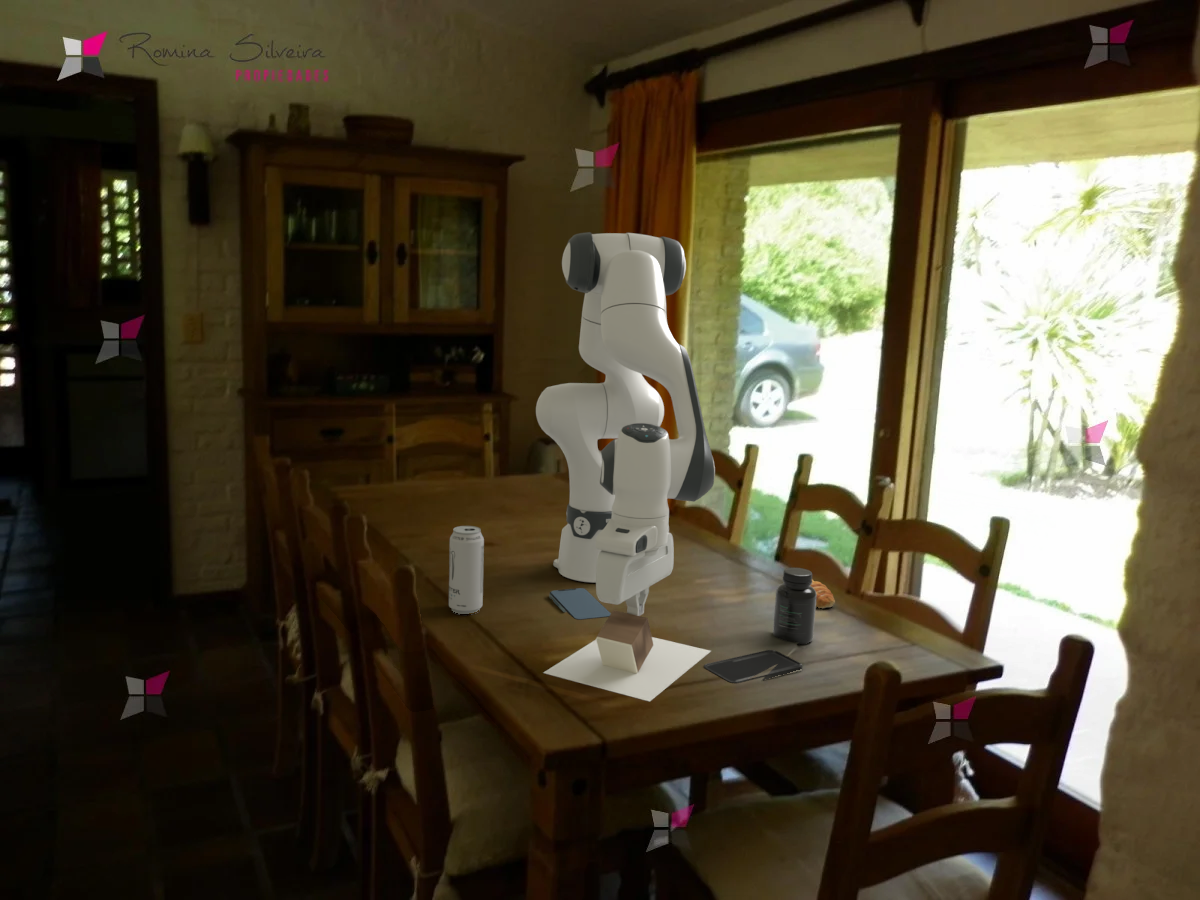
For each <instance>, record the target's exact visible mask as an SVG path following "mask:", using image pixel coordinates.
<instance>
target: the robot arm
mask: <svg viewBox="0 0 1200 900" xmlns="http://www.w3.org/2000/svg"><path fill="white" fill-rule="evenodd" d="M561 267H562V268H561V269H562V273H563V275H564V278H565V283H566V284H567V285H568V286H569V287H570V289H572V290H575V291H577V292H580V293H584V297H583V304H582V309H581V310H582V311H581V319H580V322H581V323H580V330H579V331H580V332H579V344H578V351H579V355H580V357H581V359H583V360H582V361H584V362H585V363H586V364H587V365H589V366H590V367H592V368H594V370H597V371H599V372H601V373H602V374H604V375H605V380H604V382H600V383H594V382H593V383H592V382H591V383H589V382H588V383H587V382H582V383H581V382H568V383H560V384H556V385H552V386H547V387H546V388H544V389H543V391H541V393H540V395H539V397H538V399H537V401H536V406H535V416H536V420H537V423H538V426H539V427H540V428H541V430H542V431H543V432H544V433H545V434H546V435H547V436H549V437H550V438H551V439H552V440H553V441H554V442H555V443H556V444H557V445H558V447H559V448H560V449H561V451H562V453H563V454H564V457H565V459H566V463H567V467H568V478H569V502H568V504H567V505H566V506H567V507H566V513H565V514H566V520H565V521H566V522H567V524H566V525H565V526H564V527H562V529H561V536H560V543H559V551H558V558H556V559H554V560H553V564H552V565H553V567H555V568H557V569H558V573H559V574H560V575H562V577H565V578H567V579H569V580H573V581H578V582H584V583H595V591H596V592H595V593H596V596H597V600H598V601H599V602H602V603H605V604H611V605H618V606H619V605H621V604H622V603H624V602H625V605H626V607H627V608H626V609H627V610H626V613H628V614H633V615H637V616H642V615H644V613H645V604H646V601H647V598H648V595H649V593H650V587H651V586H653V585H655V584H656V583H658V582H660V581H661V580H663V579H665V578H667V577H668V576H670V575H671V574H672V571H673V569H674V564H675V563H674V559H675V558H674V554H675V552H674V537H673V534H672V533H671V532H670V526H669V522H670V521H669V518H670V508H669V504H668V499H673V500H677V501H685V502H686V501H687V502H696V501H698V500H699V499H702V497H703V496H705V495H706V494H707V493H709V491H710V490H712V488H713V486H714V483H715V478H716V476H715V475H716V467H715V461H714V457H713V455H712V453H713V452H712V449H711V447H710V443H709V440H708V436H707V431H706V427H705V422H704V418H703V413H702V408H701V403H700V402H701V401H700V399H699V394H698V388H697V382H696V379H695V374H694V370H693V366H692V362H691V359H690V356H689V353H688V350H687V349H686V347H685V346H683V345H681V344H680V343H678V342H677V340H676V339H675V338H674V336H673V334H672V332H671V330H670V328H669V325H668V324H669V323H668V319H667V318H668V317H667V314H668V313H667V298H666V296H670V295H673V294H674V293H676V292H677V291H678V290H679V289H680V288H681V287H682V284H683V280H684V278H685V275H686V271H687V262H686V257H685V250H684V248H683V246H682V244H681V243H680V242H679V241H678V240H676V239H672V238H670V237H666V236H660V237H657V236H652V235H648V234H642V233H633V232H626V233H619V232H618V233H614V232H613V233H611V232H609V233H608V232H606V233H592V232H590V231H589V232H588V231H587V232H580V233H576V234H574V235H572V237H570V238H569V239H568V241H567V244H566V246H565V248H564V251H563V253H562V259H561ZM644 376H646V377H648V378H650V379H652V380H654V381H656V382H658V384H661V385H662V386H663V387H664V388H665V389H666V390H667V392H668V393H669V396H670V397H671V398H670V399H671V402H672V407H673V413H674V417H675V422H676V429H677V433H678V438H674V439H671V438H670V436H669V433H668V431H667V430H666V429H664V428H663V427H661V425H662V424H663V423H662V422H663V420H664V416H665V406H664V405H665V404H664V402H663V399H662V397H661V395H660V393H659V392H658V391H657V390H656V388H654V387H653V386H652V385H651V384H649V383H648V381H647V380H646V379H645V377H644ZM601 439H613V440H611V441H610V442H609V443H607V445H605V447H604V448H603V449H602V450H599V448H598V440H601Z"/></svg>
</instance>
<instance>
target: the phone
mask: <svg viewBox="0 0 1200 900" xmlns="http://www.w3.org/2000/svg"><path fill="white" fill-rule="evenodd" d="M803 666H804V665H803V664H802V662H799V661H797V660H795V659H793V658H791V657H789V656H788V655H785V654H784V653H781V652H779V651H778V650H775V649H766V650H763V651H757V652H753V653H748V654H744V655H740V656H734V657H732V658H727V659H726V658H725V659H722V660H718V661H713V662H708V663H705V664H704V665H703V669H705V670H707V671H709V672H710V673H712V674H714V675H716V676H718V677H719V678H721V679H722V680H725V681H726V682H728V683H732V684H741V683H745V682H748V681H752V680H757V679H761V678H762V680H763V681H766V680H765V679H767V680H770V679H769V678H771V679H773V678H772V677H775V676H778V675H783V674H787V673H790V672H793V671H796V670H800V669H802V670H803ZM771 668H772V669H771ZM768 669H771V670H770V672H768V673H767V674H764V675H760V676H757V675H759V674H761V673H762V672H765V671H766V670H768ZM787 675H788V674H787ZM754 676H755V677H754ZM756 676H757V677H756ZM783 676H784V675H783ZM775 678H776V677H775Z"/></svg>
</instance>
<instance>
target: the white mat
mask: <svg viewBox="0 0 1200 900" xmlns="http://www.w3.org/2000/svg"><path fill="white" fill-rule="evenodd" d="M652 641H653V647H652V649H651V650H650V652H649V654H648V656H647V657H646V659H645V661H644V663H643V664H642V666H641V668H640V670H639V671H638V672H637V673H633V672H629V671H625V670H621V669H617V668H613V667H609V666H605V665H603V664H602V660H601V656H600V652H599V648H598V644H597V640H596V639H595V640H592V642H589V643H588V644H587V645H585V646H583V647H582V648H579V649H578V650H577V651H575V652H574V653H572V654H570V655H569V656H568V657H565V658H564V659H563V660H561V661H560V662H557V663H556V664H555V665H553V666H552V667H550V668H549V669H547V670H545V671H544V672H542V673H543V674H546V675H549V676H553V677H555V678H560V679H563V680H568V681H570V682H571V681H572V682H575V683H580V684H582V685H586V686H591V687H593V688H597V689H602V690H605V691H609V692H612V693H616V694H619V695H623V696H627V697H630V698H631V697H632V698H634V699H639V700H642V701H646V702H651V701H653V700H654V699H655V698H657V696H659V695H660V694H661V693H662V692H664V691H665V689H667V688H669V687H670V686H671V685H672V684H673V683H674V682H676V681H677V680H678V679H679V678H680V677H682V676H683V675H684V674H685V673H687V671H689V670H690V669H691V668H693V667H694V666H695V665H696V664H698V662H700V661H701V660H703V658H705V657H706V656H707V655H708V654H710V653H711V652H712V650H710V649H705V648H701V647H700V648H699V647H696V646H691V645H689V644H684V643H680V642H674V641H671V640H667V639H662V638H657V637H653V636H652Z"/></svg>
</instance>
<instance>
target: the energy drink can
mask: <svg viewBox="0 0 1200 900" xmlns="http://www.w3.org/2000/svg"><path fill="white" fill-rule="evenodd" d="M452 529H453V532H452V534H451V535H450V537H449V553H448V555H449V556H448V557H449V559H448V560H449V562H448V563H449V564H448V565H449V569H448V572H449V573H448V576H449V577H448V607H449V608H451V611H453V612H452V613H454V612H455V613H454V614H456V613H458V614H457V615H460V614H469V613H474V612H477V611H478V610H479V611H480V609H481V608H482V607H483V600H484V599H483V598H484V597H483V596H484V562H485V561H484V557H485V556H484V554H485V552H484V551H485V549H484V548H485V539H484V538H485V537H484V536H483V534H482V531H481V527H478V526H474V525H460V526H456V527H454V528H452ZM477 613H478V612H477Z"/></svg>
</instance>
